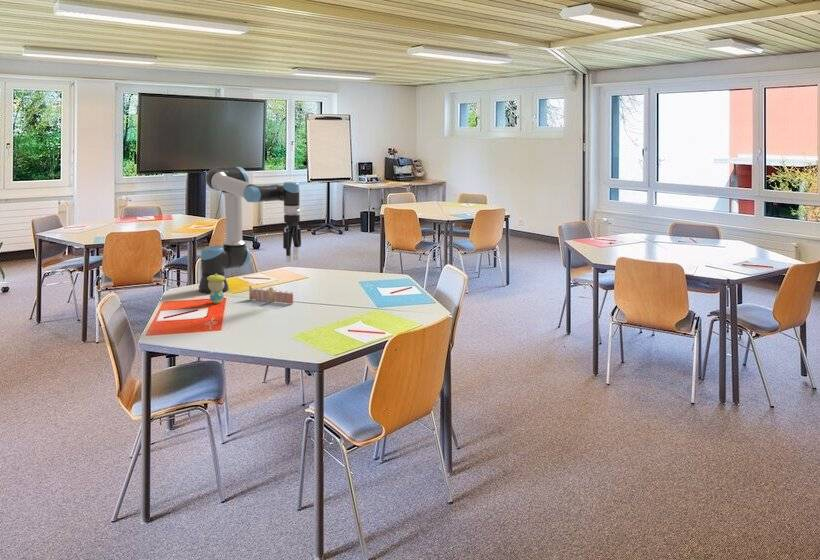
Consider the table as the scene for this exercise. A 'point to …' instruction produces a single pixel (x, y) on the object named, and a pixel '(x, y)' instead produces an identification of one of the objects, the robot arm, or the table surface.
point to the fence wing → (283, 297)
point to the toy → (216, 287)
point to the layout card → (266, 304)
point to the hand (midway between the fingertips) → (292, 260)
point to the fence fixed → (261, 294)
